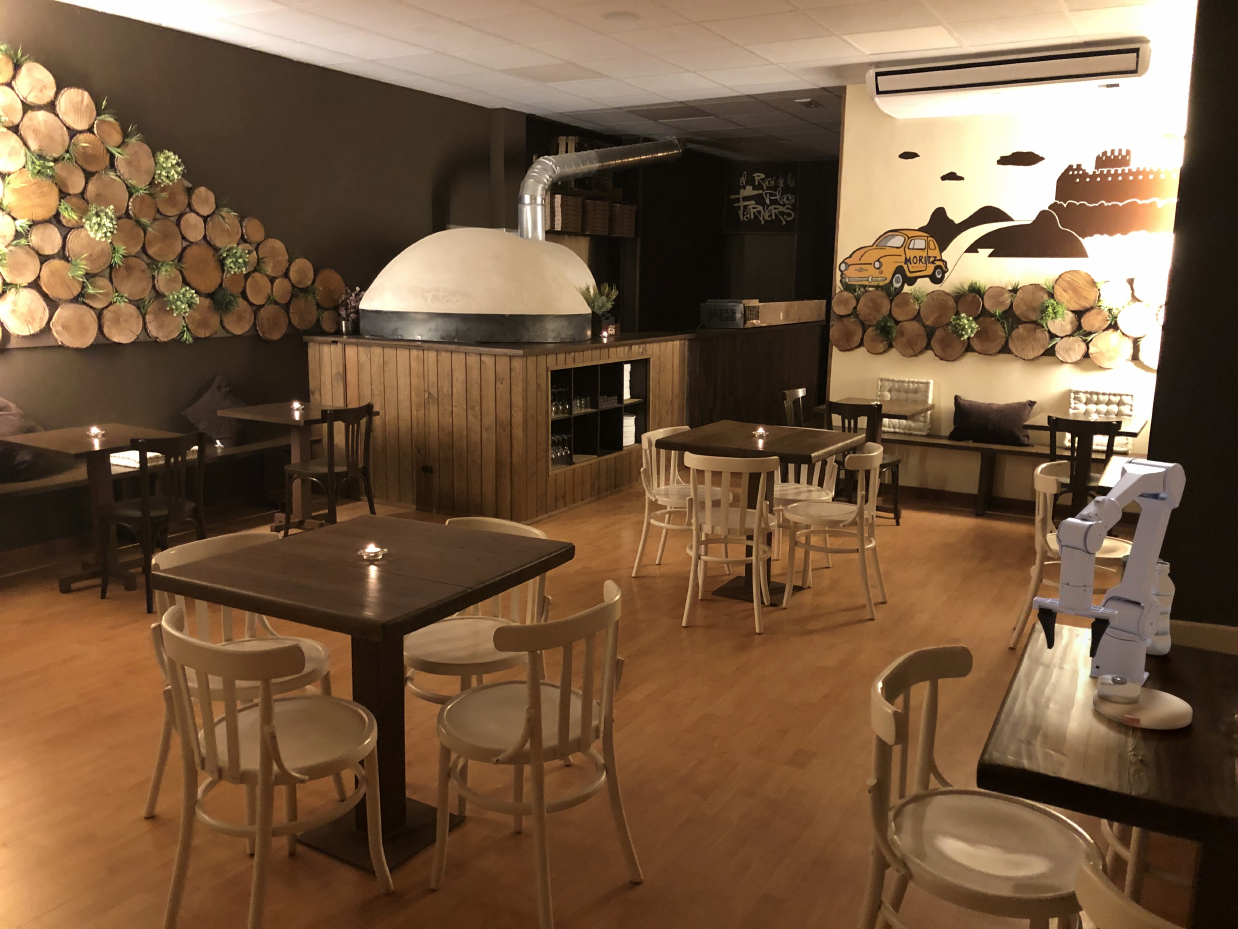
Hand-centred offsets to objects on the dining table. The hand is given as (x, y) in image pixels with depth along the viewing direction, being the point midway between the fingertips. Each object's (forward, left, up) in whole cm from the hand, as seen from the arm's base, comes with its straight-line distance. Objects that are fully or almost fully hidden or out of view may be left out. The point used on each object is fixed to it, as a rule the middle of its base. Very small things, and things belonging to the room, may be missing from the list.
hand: (1071, 651), depth 184 cm
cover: (+9, 0, -7) cm, 11 cm away
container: (+3, +46, -10) cm, 47 cm away
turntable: (+13, 0, -9) cm, 16 cm away
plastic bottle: (+8, +36, -10) cm, 38 cm away
